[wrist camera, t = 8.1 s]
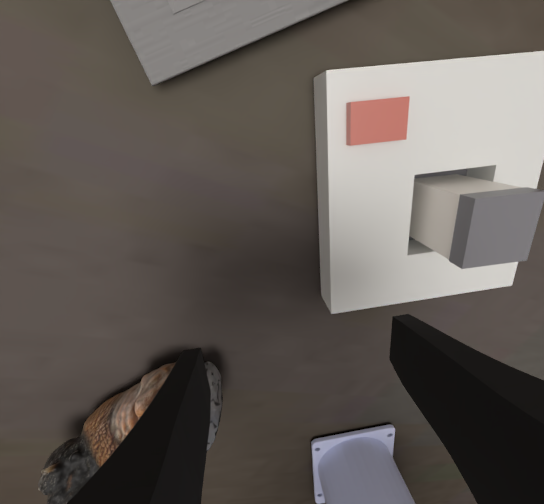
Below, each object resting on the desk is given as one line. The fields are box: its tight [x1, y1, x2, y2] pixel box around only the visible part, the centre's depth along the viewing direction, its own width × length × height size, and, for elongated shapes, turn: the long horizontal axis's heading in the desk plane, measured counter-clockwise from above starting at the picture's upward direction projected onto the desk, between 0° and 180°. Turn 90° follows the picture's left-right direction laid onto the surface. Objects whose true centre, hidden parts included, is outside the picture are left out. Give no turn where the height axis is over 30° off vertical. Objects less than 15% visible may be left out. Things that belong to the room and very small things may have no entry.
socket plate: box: [313, 51, 544, 314], centre depth 19 cm, size 14×13×3 cm
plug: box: [409, 174, 544, 269], centre depth 17 cm, size 4×4×6 cm
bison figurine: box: [38, 361, 223, 504], centre depth 20 cm, size 12×7×10 cm
